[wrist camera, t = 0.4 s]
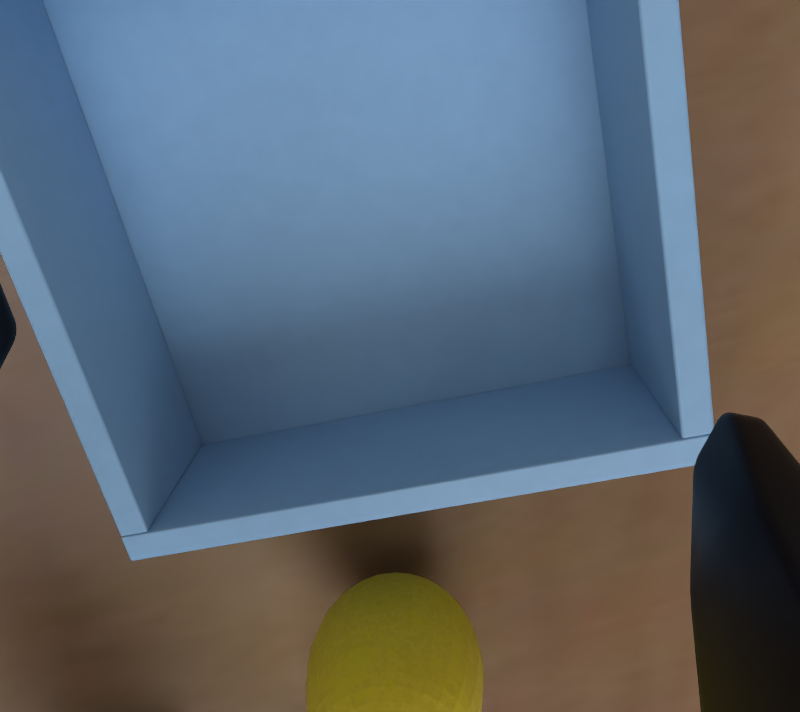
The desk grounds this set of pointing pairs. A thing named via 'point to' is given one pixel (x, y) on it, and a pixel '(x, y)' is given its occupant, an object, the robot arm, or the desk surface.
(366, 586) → the lemon
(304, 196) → the tote
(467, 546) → the desk surface
